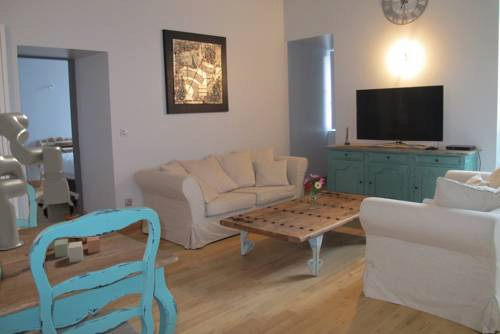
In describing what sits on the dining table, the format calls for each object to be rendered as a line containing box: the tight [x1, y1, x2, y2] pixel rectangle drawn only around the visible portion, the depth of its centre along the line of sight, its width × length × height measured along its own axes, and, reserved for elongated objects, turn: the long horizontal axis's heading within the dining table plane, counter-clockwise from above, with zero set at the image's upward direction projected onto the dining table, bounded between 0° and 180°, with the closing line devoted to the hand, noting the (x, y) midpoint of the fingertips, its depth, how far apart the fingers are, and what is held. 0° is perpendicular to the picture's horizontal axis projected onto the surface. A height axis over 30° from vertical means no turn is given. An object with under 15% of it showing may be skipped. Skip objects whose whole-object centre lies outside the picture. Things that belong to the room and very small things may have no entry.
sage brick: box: [53, 238, 69, 258], centre depth 194 cm, size 8×5×6 cm, turn 19°
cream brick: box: [68, 241, 84, 264], centre depth 187 cm, size 8×5×6 cm, turn 19°
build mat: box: [66, 253, 87, 264], centre depth 187 cm, size 9×7×1 cm
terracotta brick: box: [86, 235, 101, 254], centre depth 197 cm, size 8×5×6 cm, turn 19°
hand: (59, 216), depth 191 cm, fingers open, 9 cm apart
